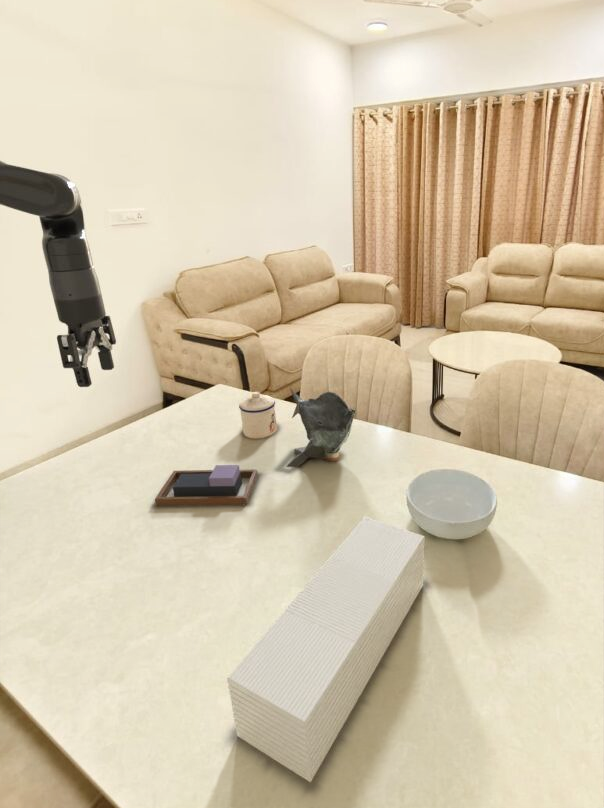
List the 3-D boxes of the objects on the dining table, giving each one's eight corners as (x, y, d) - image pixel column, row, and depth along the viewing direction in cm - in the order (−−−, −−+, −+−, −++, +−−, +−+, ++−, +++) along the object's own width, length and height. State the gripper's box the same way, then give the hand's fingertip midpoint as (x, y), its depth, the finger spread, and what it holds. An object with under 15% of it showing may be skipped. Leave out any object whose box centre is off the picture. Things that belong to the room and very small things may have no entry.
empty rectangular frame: (156, 509, 102) (154, 499, 101) (175, 480, 112) (173, 470, 111) (247, 508, 102) (246, 497, 101) (258, 478, 112) (257, 469, 111)
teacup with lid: (278, 439, 129) (274, 398, 125) (242, 443, 127) (237, 402, 123) (276, 418, 140) (272, 380, 135) (243, 422, 138) (238, 383, 133)
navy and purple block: (236, 498, 105) (233, 477, 103) (174, 499, 105) (170, 479, 103) (242, 484, 109) (239, 464, 108) (183, 485, 109) (179, 465, 108)
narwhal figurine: (341, 483, 110) (337, 410, 103) (278, 472, 114) (271, 401, 108) (362, 451, 122) (360, 384, 116) (305, 442, 127) (300, 377, 120)
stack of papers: (310, 787, 56) (304, 722, 52) (237, 740, 60) (226, 677, 56) (423, 589, 82) (424, 536, 78) (366, 567, 86) (364, 516, 82)
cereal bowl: (392, 537, 93) (392, 506, 91) (423, 489, 107) (423, 461, 105) (482, 564, 87) (485, 531, 84) (502, 509, 101) (505, 479, 98)
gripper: (76, 302, 82) (97, 392, 88) (117, 284, 96) (133, 363, 102) (30, 303, 82) (55, 393, 89) (78, 285, 96) (96, 364, 102)
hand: (97, 377), depth 95 cm, fingers open, 8 cm apart
